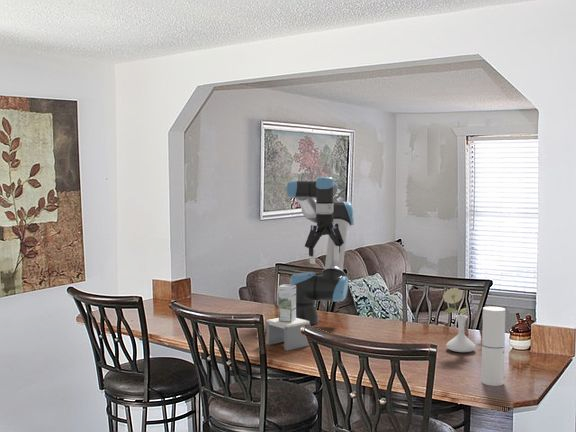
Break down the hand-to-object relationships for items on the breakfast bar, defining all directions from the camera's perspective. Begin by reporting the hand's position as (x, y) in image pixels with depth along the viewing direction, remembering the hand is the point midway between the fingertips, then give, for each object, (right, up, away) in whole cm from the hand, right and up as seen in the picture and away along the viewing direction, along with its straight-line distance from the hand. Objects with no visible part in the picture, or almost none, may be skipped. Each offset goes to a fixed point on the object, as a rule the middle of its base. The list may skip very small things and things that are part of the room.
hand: (324, 262), depth 287 cm
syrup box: (-16, -23, -18) cm, 33 cm away
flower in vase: (+52, -33, -25) cm, 66 cm away
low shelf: (-16, -32, -17) cm, 40 cm away
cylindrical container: (+53, -36, -65) cm, 91 cm away
